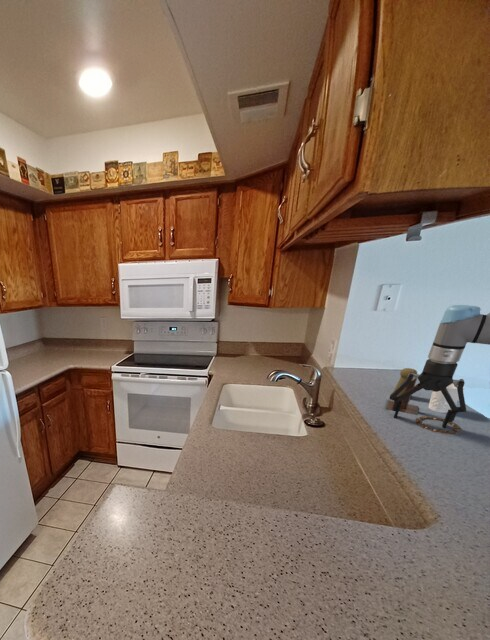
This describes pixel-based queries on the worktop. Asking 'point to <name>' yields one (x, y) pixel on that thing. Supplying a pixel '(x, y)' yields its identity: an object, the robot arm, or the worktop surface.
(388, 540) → the worktop surface
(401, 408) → the stand
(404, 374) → the cork
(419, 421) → the ring
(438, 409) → the white cup
